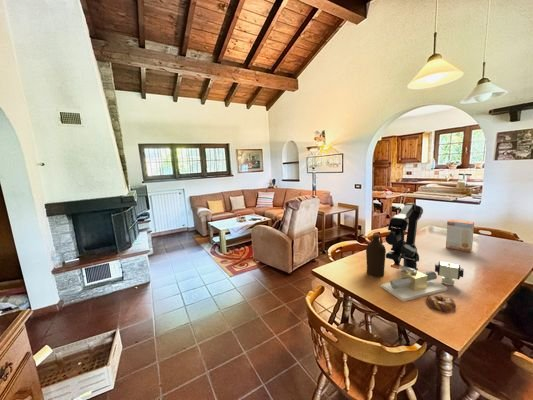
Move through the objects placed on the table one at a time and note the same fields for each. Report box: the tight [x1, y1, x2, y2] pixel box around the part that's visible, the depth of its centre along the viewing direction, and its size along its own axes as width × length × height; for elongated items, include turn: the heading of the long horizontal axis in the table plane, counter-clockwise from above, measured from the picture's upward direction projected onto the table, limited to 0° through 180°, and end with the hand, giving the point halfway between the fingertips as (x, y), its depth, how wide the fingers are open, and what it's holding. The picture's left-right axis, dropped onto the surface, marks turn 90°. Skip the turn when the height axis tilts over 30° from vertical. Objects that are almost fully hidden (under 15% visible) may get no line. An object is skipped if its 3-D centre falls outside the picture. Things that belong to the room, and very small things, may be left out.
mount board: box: [381, 280, 448, 302], centre depth 120 cm, size 14×28×2 cm, turn 105°
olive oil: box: [365, 233, 387, 278], centre depth 135 cm, size 11×11×25 cm
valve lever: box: [390, 262, 418, 274], centre depth 122 cm, size 12×3×2 cm, turn 41°
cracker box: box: [445, 219, 475, 253], centre depth 163 cm, size 14×6×21 cm, turn 38°
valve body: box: [389, 270, 438, 291], centre depth 119 cm, size 8×26×7 cm, turn 105°
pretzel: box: [425, 293, 457, 313], centre depth 105 cm, size 12×11×4 cm
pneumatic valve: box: [434, 261, 464, 286], centre depth 121 cm, size 6×12×12 cm, turn 51°
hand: (397, 266), depth 127 cm, fingers closed
